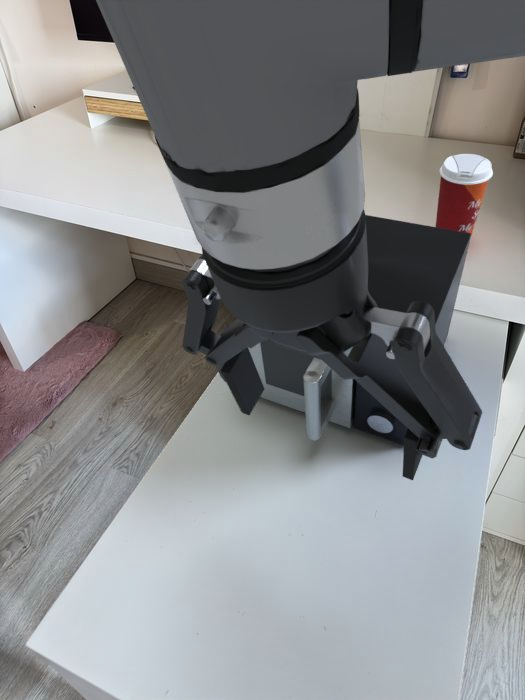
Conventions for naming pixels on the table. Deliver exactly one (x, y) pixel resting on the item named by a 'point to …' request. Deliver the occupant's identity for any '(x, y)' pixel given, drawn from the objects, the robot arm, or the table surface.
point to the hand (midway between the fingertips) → (327, 429)
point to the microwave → (409, 292)
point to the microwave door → (305, 386)
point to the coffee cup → (462, 191)
